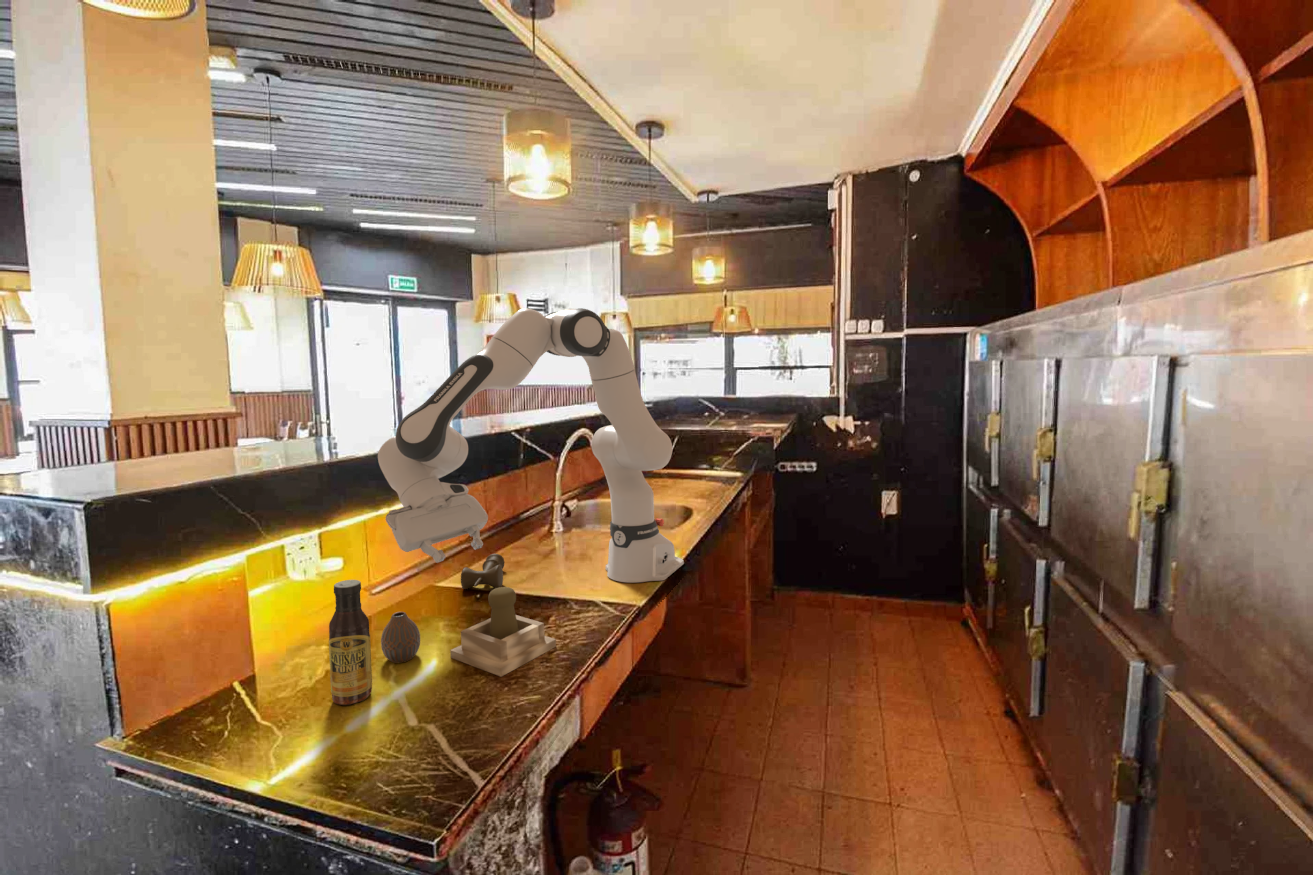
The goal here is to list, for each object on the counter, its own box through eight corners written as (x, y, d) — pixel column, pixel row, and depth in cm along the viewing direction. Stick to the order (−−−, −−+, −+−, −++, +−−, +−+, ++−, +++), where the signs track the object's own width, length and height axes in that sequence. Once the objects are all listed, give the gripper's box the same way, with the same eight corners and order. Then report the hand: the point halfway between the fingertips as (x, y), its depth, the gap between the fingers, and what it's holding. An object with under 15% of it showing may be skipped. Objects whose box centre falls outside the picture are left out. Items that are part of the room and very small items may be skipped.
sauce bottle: (328, 710, 101) (317, 592, 99) (336, 691, 107) (326, 579, 105) (372, 703, 103) (362, 587, 101) (377, 685, 109) (368, 575, 107)
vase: (429, 654, 121) (426, 610, 120) (398, 669, 115) (394, 624, 114) (405, 647, 124) (402, 604, 123) (374, 661, 118) (370, 617, 117)
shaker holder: (506, 630, 130) (505, 607, 130) (556, 646, 122) (554, 621, 122) (450, 657, 119) (449, 632, 118) (500, 676, 111) (499, 649, 110)
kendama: (514, 571, 170) (495, 597, 150) (478, 573, 170) (455, 599, 150) (512, 550, 169) (494, 572, 150) (477, 552, 169) (453, 574, 150)
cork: (513, 651, 117) (510, 595, 116) (483, 650, 118) (479, 594, 117) (525, 637, 123) (522, 583, 122) (496, 636, 124) (493, 582, 123)
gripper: (387, 503, 122) (422, 559, 117) (471, 483, 138) (505, 531, 134) (376, 522, 125) (410, 577, 121) (460, 501, 142) (492, 549, 137)
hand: (461, 553), depth 127 cm, fingers open, 8 cm apart
